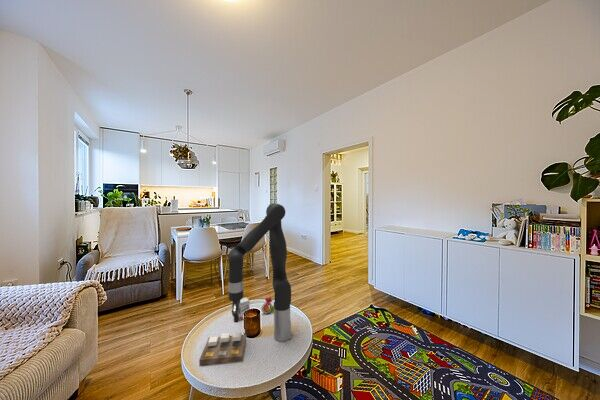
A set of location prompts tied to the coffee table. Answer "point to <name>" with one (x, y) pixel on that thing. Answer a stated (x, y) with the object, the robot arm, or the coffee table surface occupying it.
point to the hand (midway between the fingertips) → (236, 321)
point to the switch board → (223, 352)
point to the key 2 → (236, 336)
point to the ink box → (243, 307)
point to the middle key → (225, 337)
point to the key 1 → (213, 341)
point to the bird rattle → (265, 306)
